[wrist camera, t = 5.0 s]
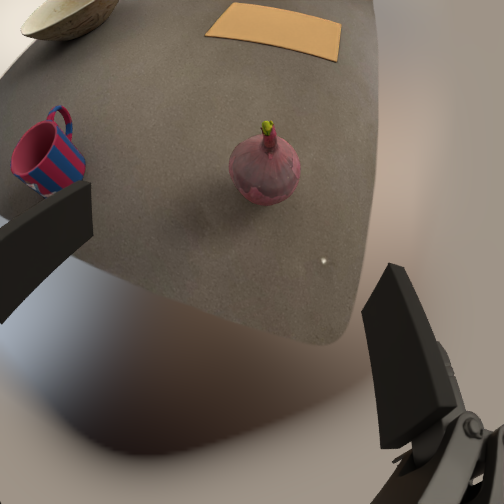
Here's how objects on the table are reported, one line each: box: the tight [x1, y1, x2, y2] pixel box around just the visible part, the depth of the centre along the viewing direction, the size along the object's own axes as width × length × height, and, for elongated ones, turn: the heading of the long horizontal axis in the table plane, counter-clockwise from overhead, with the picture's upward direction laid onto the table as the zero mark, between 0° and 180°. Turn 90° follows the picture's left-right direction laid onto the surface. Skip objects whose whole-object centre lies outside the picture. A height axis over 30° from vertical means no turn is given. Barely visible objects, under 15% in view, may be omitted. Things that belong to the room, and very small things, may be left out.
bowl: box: [21, 0, 119, 41], centre depth 30 cm, size 24×24×10 cm
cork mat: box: [205, 3, 341, 62], centre depth 34 cm, size 20×14×1 cm
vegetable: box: [229, 121, 301, 206], centre depth 22 cm, size 6×6×10 cm
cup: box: [10, 106, 85, 199], centre depth 23 cm, size 7×10×7 cm
